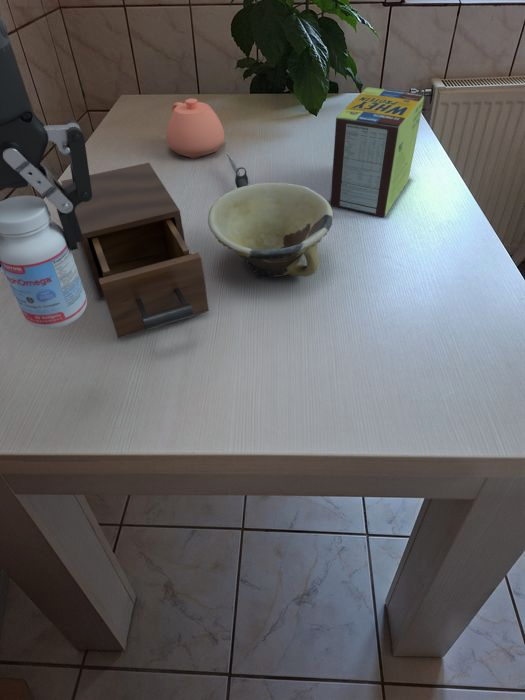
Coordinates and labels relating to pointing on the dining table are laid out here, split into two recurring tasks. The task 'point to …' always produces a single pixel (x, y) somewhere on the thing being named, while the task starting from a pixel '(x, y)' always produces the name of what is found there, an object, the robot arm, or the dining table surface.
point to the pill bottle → (39, 264)
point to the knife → (238, 174)
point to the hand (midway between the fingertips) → (35, 254)
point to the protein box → (374, 149)
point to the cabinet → (122, 207)
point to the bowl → (272, 226)
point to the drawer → (149, 277)
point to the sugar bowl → (194, 129)
